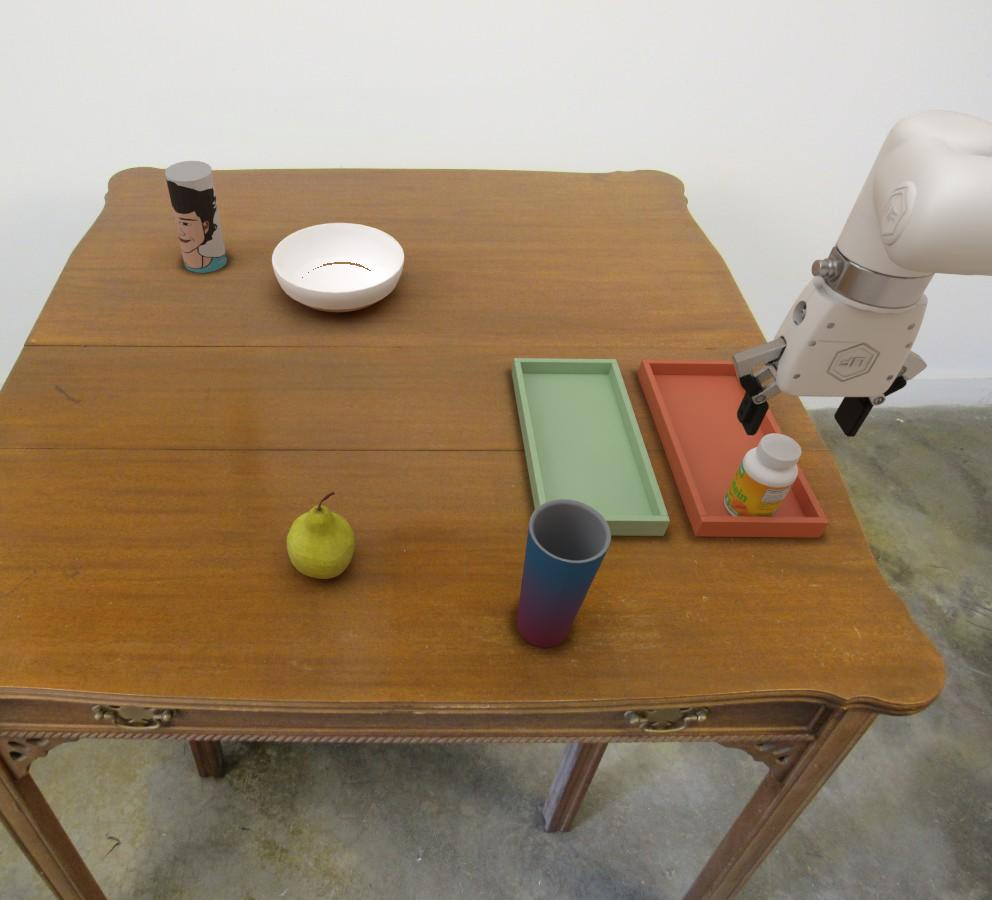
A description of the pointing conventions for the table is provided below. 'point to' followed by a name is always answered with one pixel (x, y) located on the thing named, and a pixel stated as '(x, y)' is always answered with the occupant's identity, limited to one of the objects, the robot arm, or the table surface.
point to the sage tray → (587, 442)
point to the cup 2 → (559, 568)
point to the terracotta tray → (717, 449)
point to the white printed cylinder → (196, 215)
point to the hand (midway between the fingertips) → (794, 426)
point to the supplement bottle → (764, 477)
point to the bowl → (338, 266)
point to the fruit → (320, 543)
